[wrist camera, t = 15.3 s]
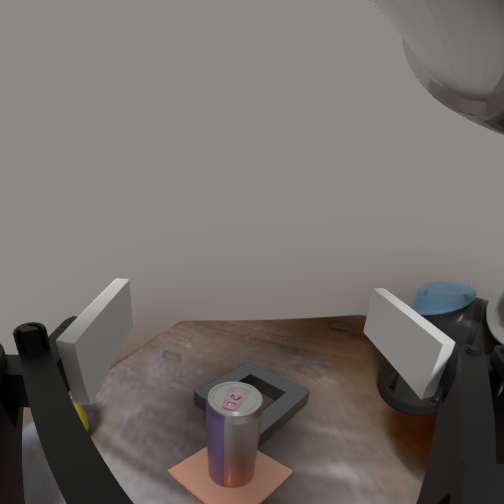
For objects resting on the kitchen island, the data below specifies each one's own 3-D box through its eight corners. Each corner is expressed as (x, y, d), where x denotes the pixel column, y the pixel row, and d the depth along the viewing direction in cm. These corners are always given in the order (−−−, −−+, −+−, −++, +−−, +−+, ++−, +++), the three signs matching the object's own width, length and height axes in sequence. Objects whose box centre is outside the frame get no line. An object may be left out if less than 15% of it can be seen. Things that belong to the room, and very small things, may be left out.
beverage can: (201, 481, 29) (195, 405, 26) (218, 453, 35) (219, 374, 31) (245, 495, 28) (254, 423, 24) (259, 464, 33) (270, 387, 30)
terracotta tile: (228, 433, 40) (228, 431, 39) (292, 472, 32) (293, 470, 32) (168, 472, 30) (167, 469, 30) (234, 525, 23) (234, 523, 23)
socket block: (247, 373, 56) (248, 361, 56) (307, 403, 48) (310, 390, 47) (194, 403, 46) (194, 391, 45) (258, 446, 37) (259, 434, 37)
